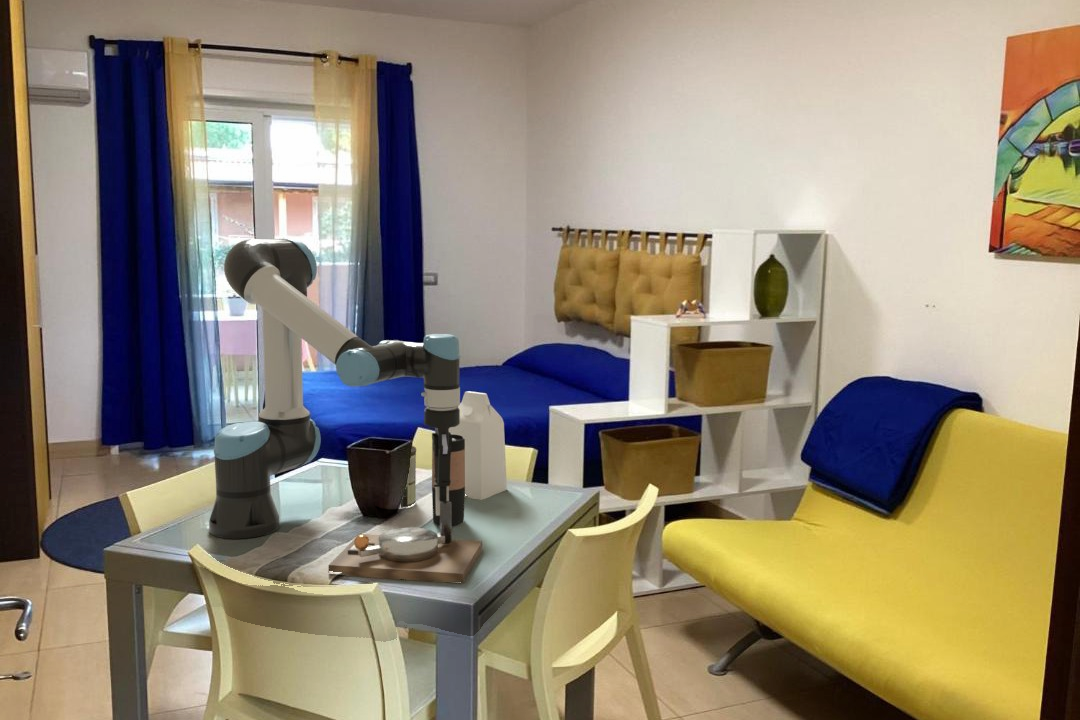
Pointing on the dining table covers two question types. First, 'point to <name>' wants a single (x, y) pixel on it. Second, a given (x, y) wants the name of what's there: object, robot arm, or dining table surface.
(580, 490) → the dining table surface
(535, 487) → the dining table surface
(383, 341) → the robot arm
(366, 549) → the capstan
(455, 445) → the travel mug
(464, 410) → the milk
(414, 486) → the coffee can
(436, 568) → the stand
